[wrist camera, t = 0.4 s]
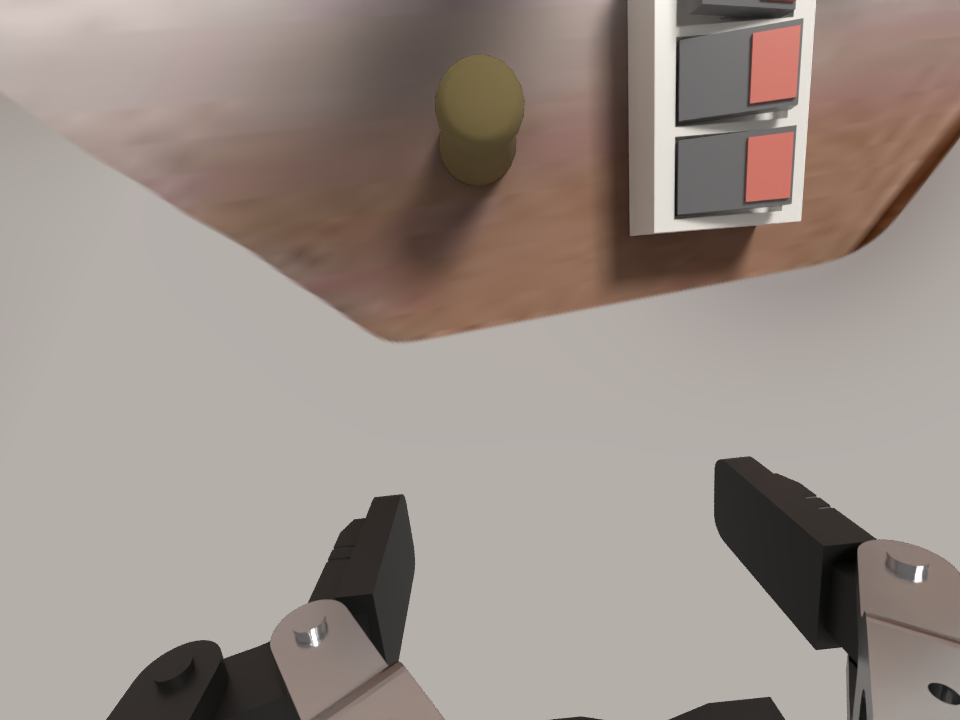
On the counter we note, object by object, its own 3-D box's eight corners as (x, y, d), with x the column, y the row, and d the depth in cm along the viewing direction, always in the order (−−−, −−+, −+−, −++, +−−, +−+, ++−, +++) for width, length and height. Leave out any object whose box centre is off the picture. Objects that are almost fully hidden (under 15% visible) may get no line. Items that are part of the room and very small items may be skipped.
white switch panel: (627, -34, 34) (654, -86, 29) (769, -46, 34) (822, -99, 29) (629, 236, 38) (654, 233, 33) (756, 225, 38) (800, 220, 33)
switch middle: (676, 47, 31) (680, 38, 30) (795, 26, 29) (804, 16, 28) (675, 125, 32) (679, 119, 31) (790, 109, 30) (799, 103, 29)
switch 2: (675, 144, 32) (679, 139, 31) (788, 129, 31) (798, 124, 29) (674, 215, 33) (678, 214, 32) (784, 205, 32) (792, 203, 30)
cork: (462, 86, 35) (458, 11, 24) (530, 129, 36) (556, 75, 25) (424, 160, 36) (405, 119, 26) (491, 200, 37) (500, 177, 26)
